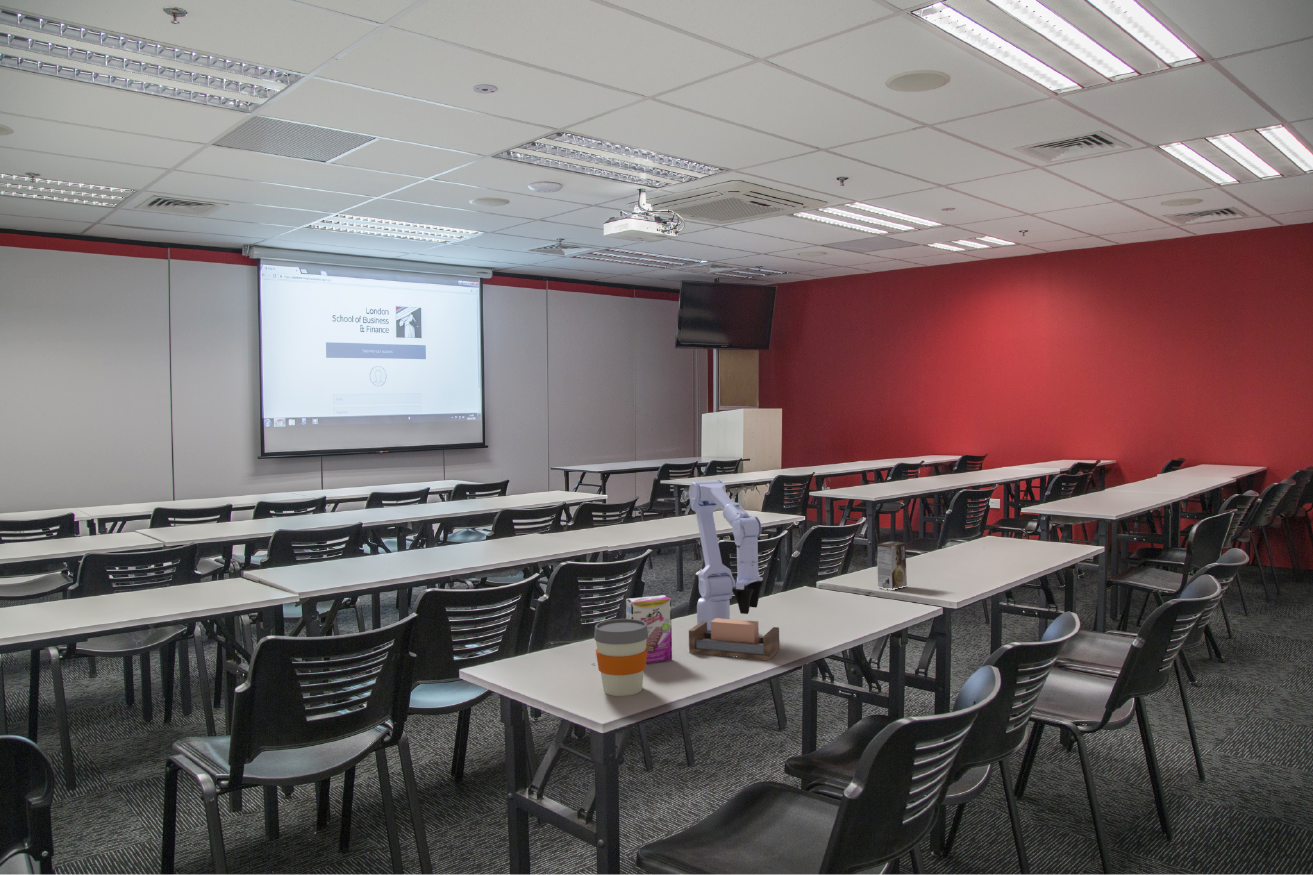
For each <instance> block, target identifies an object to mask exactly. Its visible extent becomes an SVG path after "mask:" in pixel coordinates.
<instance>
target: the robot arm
mask: <svg viewBox="0 0 1313 875" xmlns="http://www.w3.org/2000/svg"><path fill="white" fill-rule="evenodd" d="M726 490H727V489H726V484H725V483H724V482H723V480H721V479H717V480H716V479H715V480H702V481H692V482H691V484H690V485H689V489H688V498H689V503H690V507H691V510H692V511H693V512H695V516H696V521H697V526H698V532H699V538H700V543H701V547H702V548H701V549H702V555H703V559H704V565H705V566H704V568H703V569H702V570H701V571H700V572H699V574H698V592H699V594H700V596H701V597H700V598H699V599H698V601H697V604H696V622H697V624H699V623H700V622H702V621H703V622H707V632H711V621H712V620H714V619H715V618H720V619H731V606H730V602H731V601H730V599H732V596H733V595H734V596H735V599H736V601H737V605H738V606H737V607H738V609H739V612H740V614H743V615H748V614H749V612H750V608H758V605H759V599H760V593H761V590H762V588H763V586H764V584H765V581H764V578H763V577H762V576H760V571H759V552H758V548H759V546H758V542H759V540H758V538H759V537H760V536H761V535H762V523H761V520H760V519H759V517H758V516H756V515H754V516H753V515H749V513H748V512H747V511H746V510H745V509H744V508H743V507H742V505H741V504H740V503H739V502H733V500H732V499H731V498H730V497H729V495H728V494H727V491H726ZM719 508H720V509H721V510H722V517H723V518H724V519H725V521H726V522H728V524H729V525H730V526H731V528H732V530H731V531H732V534H733V538H734V544H735V545H736V563H737V564H736V568H737V570H736V571H737V573H736V574H737V576H736V581H735V579H734V577H733V573H732V570H731V569H730V568H729V567H727V566H726V565H725V564H724V563H723V560H722V556H721V551H720V547H719V546H720V545H719V540H718V539H719V538H718V535H717V529H716V524H715V518H714V511H716V510H717V509H719ZM697 624H696V625H697Z"/></svg>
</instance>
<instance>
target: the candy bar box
mask: <svg viewBox="0 0 1313 875" xmlns="http://www.w3.org/2000/svg"><path fill="white" fill-rule="evenodd" d="M625 608H626V609H625V619H636V620H641V621H644V622H646V624H647V630H648V638H647V641H646V647H647V648H648V649H647V660H646V665H647V664H654V663H655V664H656V663H660V662H661V663H663V662H669V661H672V660H673V638H672V636H673V634H672V633H673V632H672V631H673V630H672V598H671V597H669V596H667V595H666V594H663V595H662V594H661V595H653V596H651V595H650V596H642V597H641V596H640V597H632V598H630V597H629V598H626V599H625Z"/></svg>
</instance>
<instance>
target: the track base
mask: <svg viewBox="0 0 1313 875" xmlns="http://www.w3.org/2000/svg"><path fill="white" fill-rule="evenodd" d="M780 648H781V647H780V627H779V626H778V627H775V626H773V627H772V628H771V629H769V630H768V631H767V633H766V634H764V635H759V643H748V642H737V641H725V640H714V639H711V631H708V630H707V622H703V621H702V622H700V623H699V624H696V625H695V626H693V627H691V628H689V630H688V650H689V651H688V653H689V654H697V655H698V654H699V655H707V654H710V655H709V656H718V655H719V657H728V656H735V657H734V658H738V657H741V658H740V659H749V658H751V659H752V660H761V661H770V660H771V659H772V658H773V657H774V656H775V655H776V654H777V653H778V652H779V651H780ZM711 654H712V655H711ZM720 655H721V656H720ZM736 656H737V657H736ZM751 659H750V660H751Z"/></svg>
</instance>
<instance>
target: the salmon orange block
mask: <svg viewBox="0 0 1313 875" xmlns="http://www.w3.org/2000/svg"><path fill="white" fill-rule="evenodd" d="M710 632H711V639H714V640H725V641H737V642H748V643H759V636H760V635H759V634H760V632H759V621H758V620H757V621H756V620H746V619H745V620H743V619H732V618H730V619H720V618H715V619H714V620H712V621H711V631H710Z"/></svg>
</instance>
